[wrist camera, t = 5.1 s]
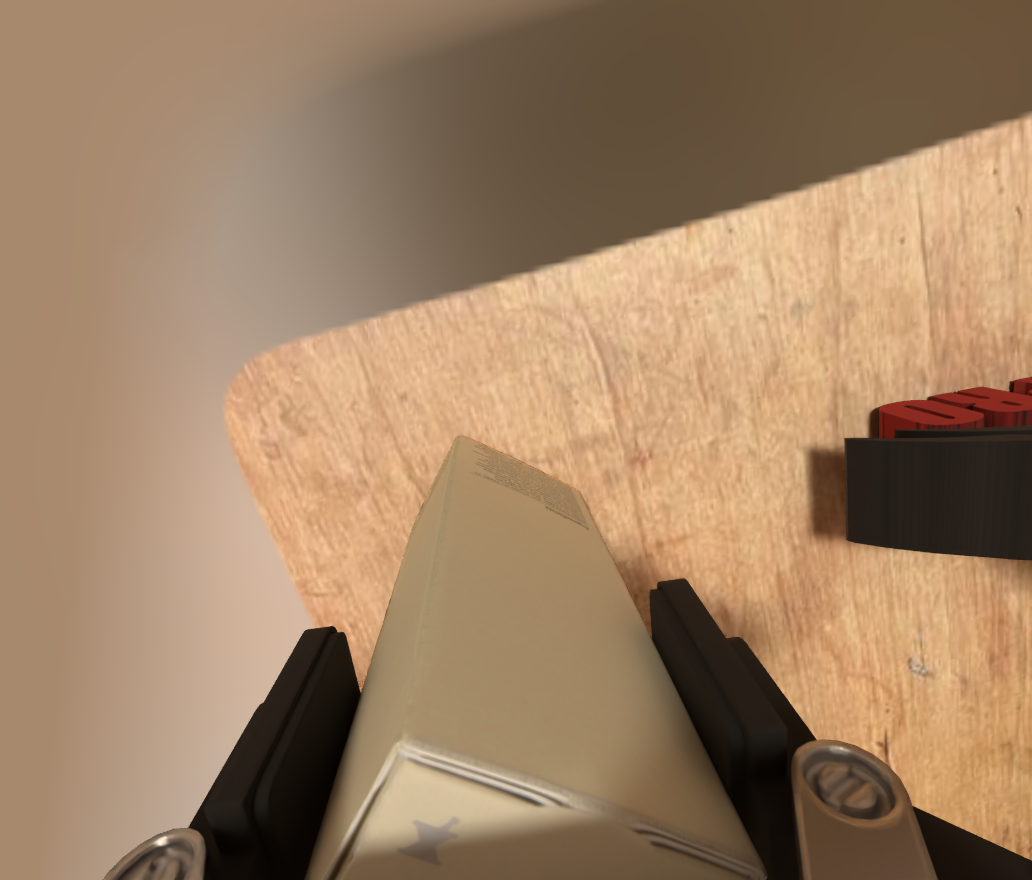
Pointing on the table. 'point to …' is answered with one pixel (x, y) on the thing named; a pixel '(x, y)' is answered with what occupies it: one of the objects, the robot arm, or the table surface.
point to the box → (521, 709)
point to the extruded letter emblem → (946, 475)
